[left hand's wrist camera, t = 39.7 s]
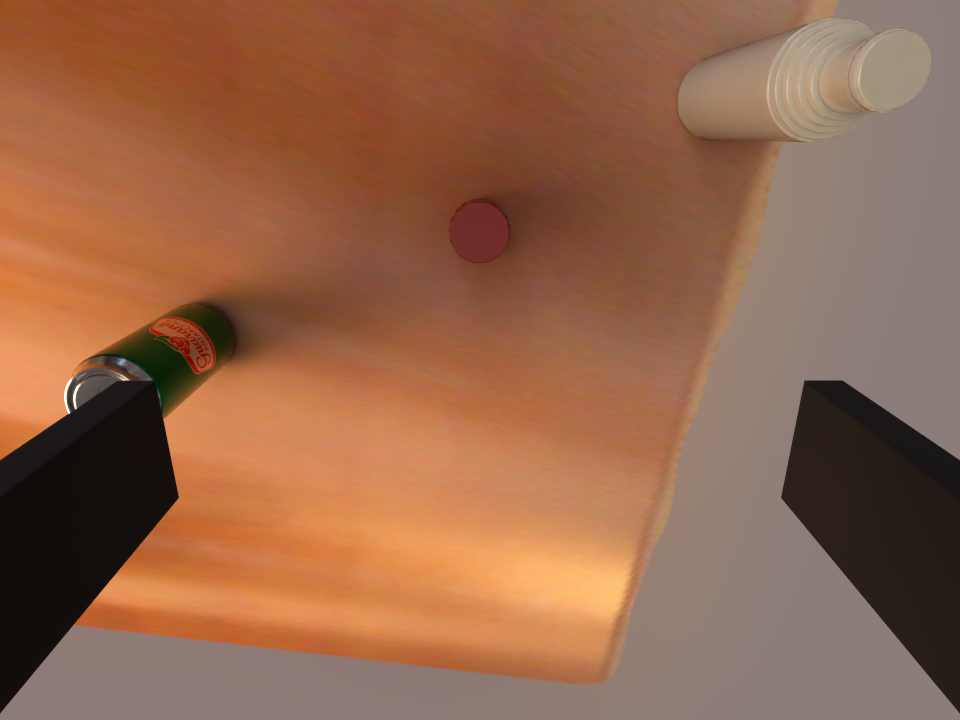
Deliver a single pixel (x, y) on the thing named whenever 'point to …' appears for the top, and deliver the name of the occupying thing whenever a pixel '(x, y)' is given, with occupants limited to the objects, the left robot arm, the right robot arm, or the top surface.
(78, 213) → the top surface
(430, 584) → the top surface
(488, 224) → the cap
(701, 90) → the bottle
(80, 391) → the soda can
